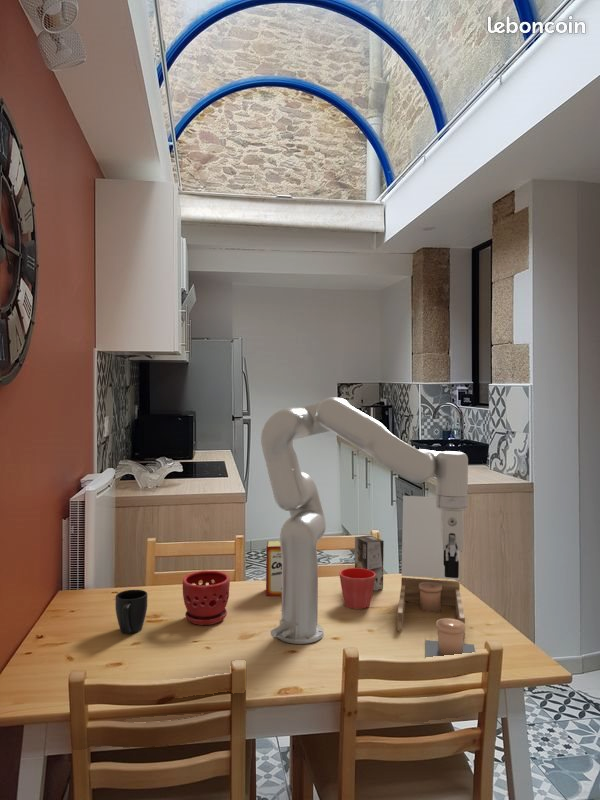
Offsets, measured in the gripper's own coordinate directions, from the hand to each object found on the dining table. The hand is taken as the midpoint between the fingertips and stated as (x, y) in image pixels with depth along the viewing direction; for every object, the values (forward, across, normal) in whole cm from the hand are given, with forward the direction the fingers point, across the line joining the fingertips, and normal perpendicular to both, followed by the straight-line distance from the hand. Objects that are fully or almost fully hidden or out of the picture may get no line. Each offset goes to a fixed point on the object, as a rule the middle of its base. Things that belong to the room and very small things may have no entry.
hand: (450, 571), depth 142 cm
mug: (+21, -7, +82) cm, 85 cm away
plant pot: (+21, +6, +66) cm, 70 cm away
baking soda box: (+21, +34, +51) cm, 65 cm away
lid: (+1, +40, +5) cm, 41 cm away
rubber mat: (+20, 0, 0) cm, 20 cm away
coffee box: (+20, +47, +24) cm, 56 cm away
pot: (+20, +31, +5) cm, 37 cm away
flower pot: (+20, +29, +26) cm, 44 cm away
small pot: (+20, 0, 0) cm, 20 cm away
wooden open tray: (+20, +23, +4) cm, 31 cm away
